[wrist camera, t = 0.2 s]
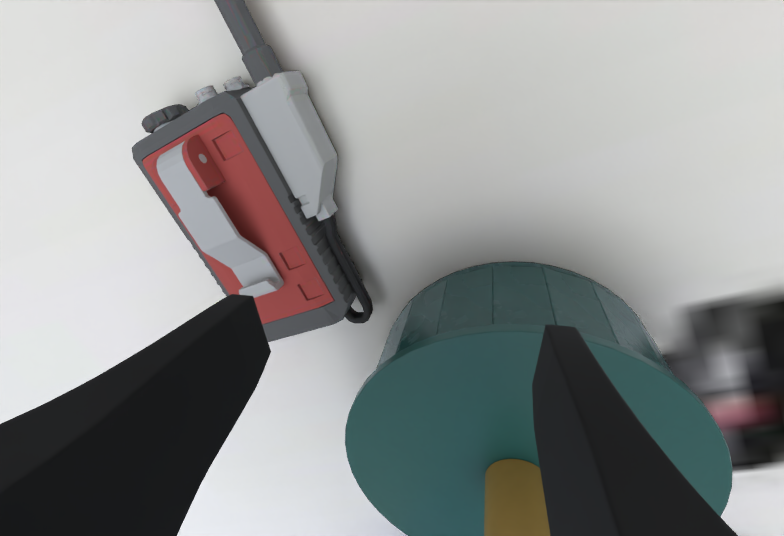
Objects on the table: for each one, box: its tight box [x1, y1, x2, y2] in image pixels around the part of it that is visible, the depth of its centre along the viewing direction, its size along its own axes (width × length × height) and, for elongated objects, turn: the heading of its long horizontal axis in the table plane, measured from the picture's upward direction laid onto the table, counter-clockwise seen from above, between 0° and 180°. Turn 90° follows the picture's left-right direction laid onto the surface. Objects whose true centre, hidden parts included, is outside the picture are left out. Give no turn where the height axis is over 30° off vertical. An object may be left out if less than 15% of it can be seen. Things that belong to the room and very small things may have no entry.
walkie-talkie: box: [132, 0, 373, 342], centre depth 18 cm, size 9×4×20 cm
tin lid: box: [345, 324, 732, 536], centre depth 16 cm, size 15×15×4 cm
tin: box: [376, 262, 673, 374], centre depth 20 cm, size 14×14×6 cm
